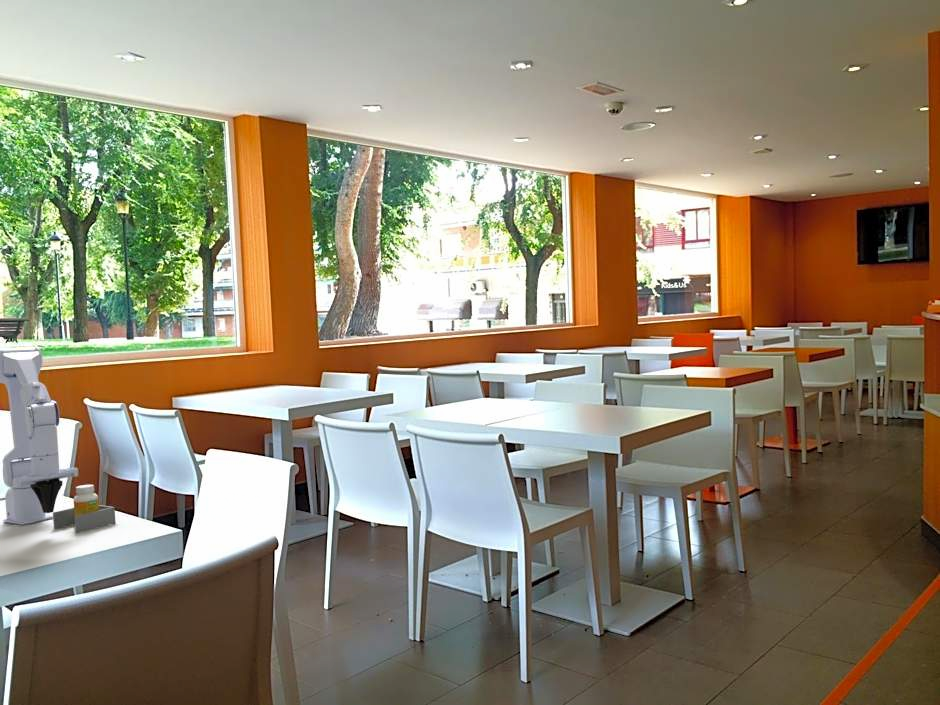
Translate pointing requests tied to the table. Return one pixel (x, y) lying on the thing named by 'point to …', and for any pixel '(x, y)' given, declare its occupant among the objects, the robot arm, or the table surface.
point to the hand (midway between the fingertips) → (48, 512)
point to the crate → (84, 518)
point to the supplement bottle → (85, 500)
